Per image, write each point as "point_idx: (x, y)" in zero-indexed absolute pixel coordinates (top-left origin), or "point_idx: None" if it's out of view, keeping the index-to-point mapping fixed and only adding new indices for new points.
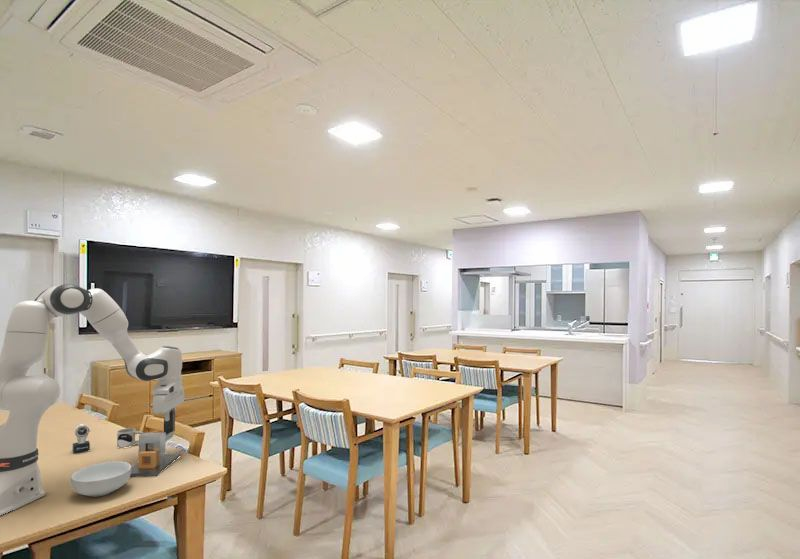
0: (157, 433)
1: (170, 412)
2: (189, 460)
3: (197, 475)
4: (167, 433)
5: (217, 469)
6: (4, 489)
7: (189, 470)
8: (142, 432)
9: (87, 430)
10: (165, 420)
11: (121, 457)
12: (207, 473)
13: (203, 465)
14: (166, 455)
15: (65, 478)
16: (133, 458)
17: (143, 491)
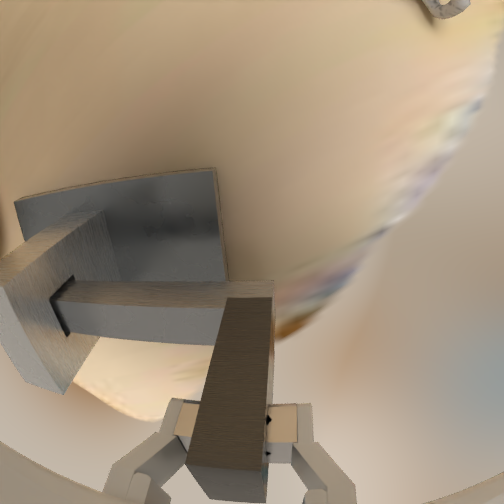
0: (31, 364)
1: (204, 489)
2: (196, 351)
3: (103, 389)
4: (195, 336)
5: (149, 417)
6: None
7: (120, 370)
8: (463, 4)
9: None
10: (172, 404)
11: (207, 11)
12: (121, 403)
13: (164, 392)
14: (200, 268)
15: (7, 19)
16: (192, 83)
17: None
